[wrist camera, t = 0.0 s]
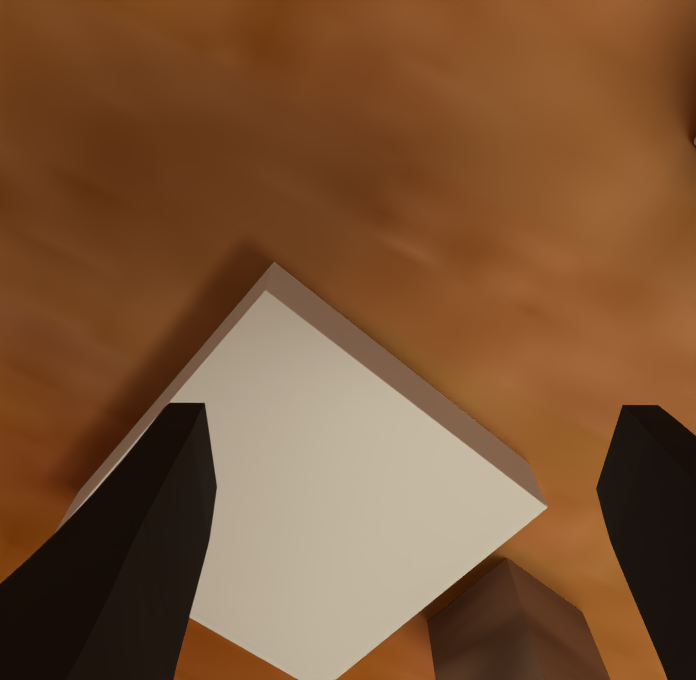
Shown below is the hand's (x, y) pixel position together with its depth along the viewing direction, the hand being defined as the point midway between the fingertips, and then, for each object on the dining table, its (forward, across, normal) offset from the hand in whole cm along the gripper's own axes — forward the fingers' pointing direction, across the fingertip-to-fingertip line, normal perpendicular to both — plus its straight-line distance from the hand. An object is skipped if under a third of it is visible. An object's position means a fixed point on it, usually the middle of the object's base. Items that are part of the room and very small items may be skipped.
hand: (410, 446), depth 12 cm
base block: (+10, +3, +10) cm, 14 cm away
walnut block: (+8, -6, +17) cm, 20 cm away
